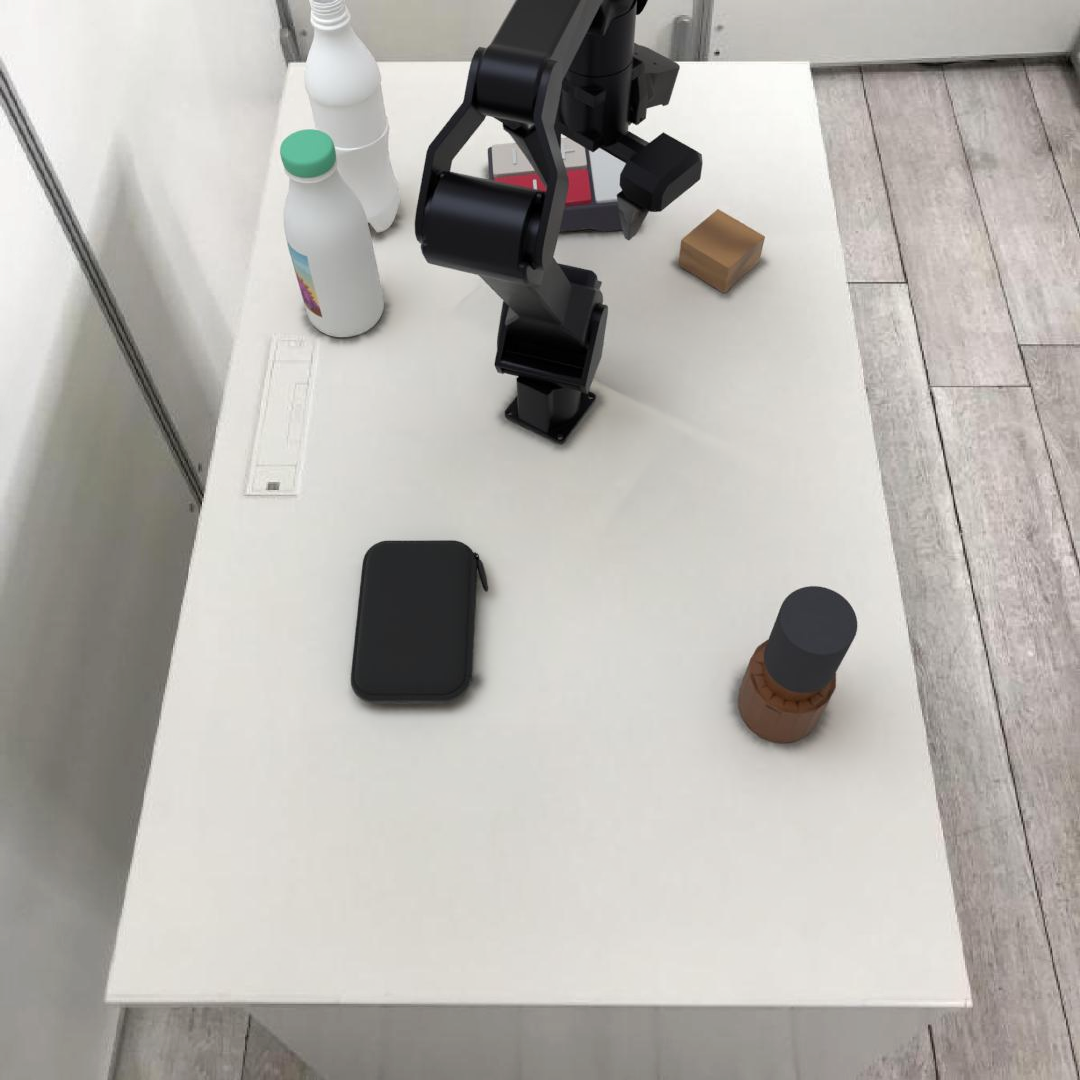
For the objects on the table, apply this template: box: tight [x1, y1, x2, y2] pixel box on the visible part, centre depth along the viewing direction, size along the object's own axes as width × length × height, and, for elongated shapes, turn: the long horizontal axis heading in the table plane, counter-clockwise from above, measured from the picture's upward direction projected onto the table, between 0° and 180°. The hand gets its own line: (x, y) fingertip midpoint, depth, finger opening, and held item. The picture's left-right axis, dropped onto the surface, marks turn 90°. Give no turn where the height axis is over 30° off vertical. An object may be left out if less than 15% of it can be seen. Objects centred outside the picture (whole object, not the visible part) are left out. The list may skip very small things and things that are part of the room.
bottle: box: [737, 639, 837, 744], centre depth 81 cm, size 6×6×8 cm
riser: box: [677, 208, 766, 294], centre depth 108 cm, size 6×6×4 cm
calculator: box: [487, 137, 626, 233], centre depth 113 cm, size 11×4×15 cm
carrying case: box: [350, 539, 489, 704], centre depth 87 cm, size 11×3×15 cm
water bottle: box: [303, 0, 401, 233], centre depth 103 cm, size 7×7×25 cm
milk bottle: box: [279, 128, 385, 338], centre depth 99 cm, size 8×8×20 cm
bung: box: [764, 585, 858, 693], centre depth 75 cm, size 5×5×8 cm
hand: (591, 212), depth 95 cm, fingers open, 9 cm apart
